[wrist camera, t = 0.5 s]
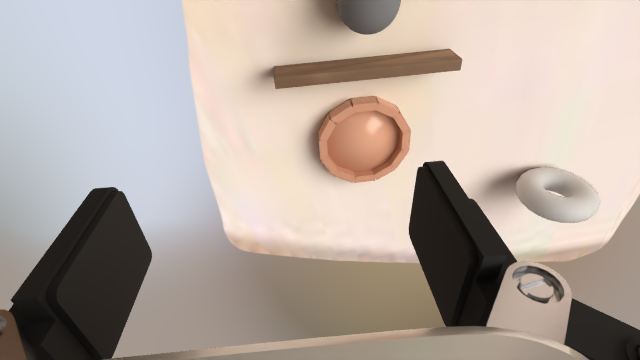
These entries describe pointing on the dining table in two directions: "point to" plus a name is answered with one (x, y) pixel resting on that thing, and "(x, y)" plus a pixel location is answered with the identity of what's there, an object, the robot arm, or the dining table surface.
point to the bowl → (363, 139)
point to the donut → (567, 209)
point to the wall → (366, 68)
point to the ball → (368, 14)
